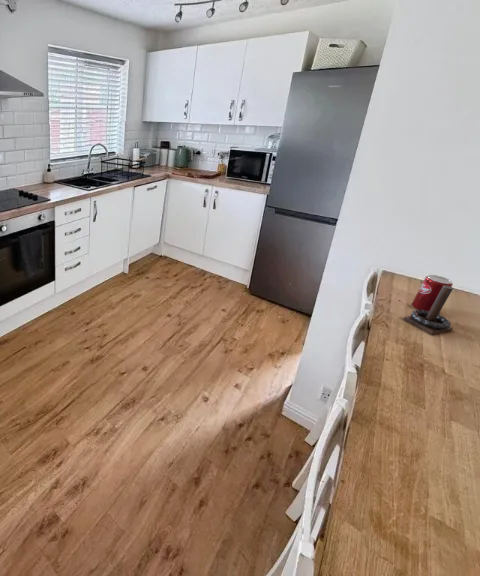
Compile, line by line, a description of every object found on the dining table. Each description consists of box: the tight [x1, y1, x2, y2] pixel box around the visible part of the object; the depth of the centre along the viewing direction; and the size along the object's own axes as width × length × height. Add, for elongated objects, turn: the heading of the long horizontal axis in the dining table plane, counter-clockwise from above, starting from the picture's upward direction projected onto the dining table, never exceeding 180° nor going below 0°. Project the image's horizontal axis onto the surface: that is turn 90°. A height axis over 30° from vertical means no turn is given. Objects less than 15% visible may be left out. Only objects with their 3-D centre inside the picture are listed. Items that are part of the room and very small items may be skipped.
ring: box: [410, 309, 452, 329], centre depth 120 cm, size 10×10×2 cm
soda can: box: [411, 274, 454, 311], centre depth 128 cm, size 7×7×12 cm
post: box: [403, 285, 454, 336], centre depth 118 cm, size 9×9×14 cm
